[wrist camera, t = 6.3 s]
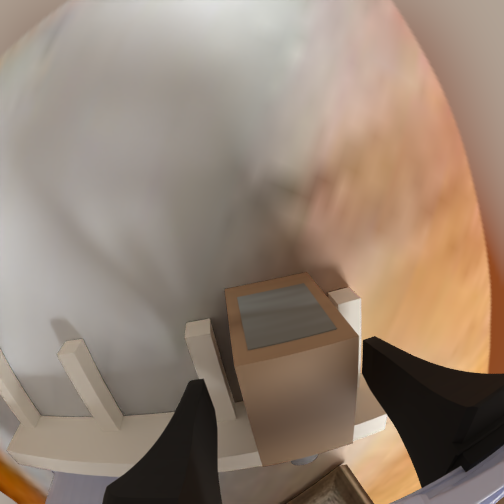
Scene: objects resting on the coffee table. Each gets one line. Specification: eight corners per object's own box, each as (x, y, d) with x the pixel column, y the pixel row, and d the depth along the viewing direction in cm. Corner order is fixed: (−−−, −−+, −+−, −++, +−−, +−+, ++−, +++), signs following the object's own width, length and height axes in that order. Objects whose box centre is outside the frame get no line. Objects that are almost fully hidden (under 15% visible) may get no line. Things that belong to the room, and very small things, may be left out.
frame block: (314, 366, 17) (352, 443, 11) (246, 382, 16) (262, 466, 11) (306, 270, 15) (358, 334, 9) (224, 287, 15) (233, 365, 9)
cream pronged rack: (358, 387, 18) (388, 436, 13) (35, 428, 16) (16, 469, 12) (359, 284, 15) (406, 327, 11) (-16, 348, 14) (-49, 387, 9)
